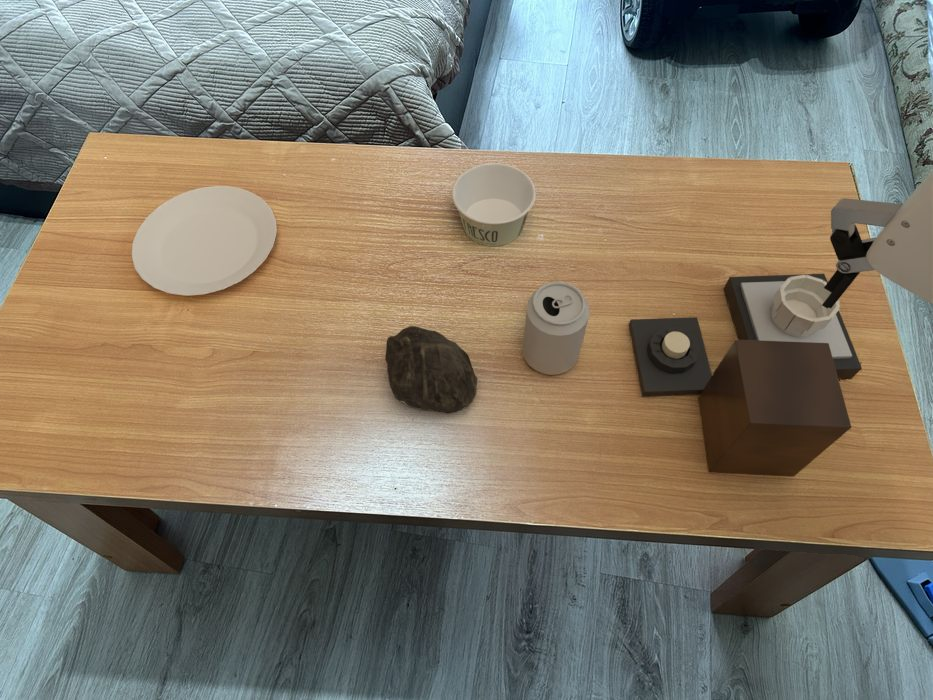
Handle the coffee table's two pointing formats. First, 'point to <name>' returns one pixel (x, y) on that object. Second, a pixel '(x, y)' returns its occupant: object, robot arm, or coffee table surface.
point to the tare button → (675, 345)
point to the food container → (493, 202)
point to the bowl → (802, 306)
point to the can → (554, 327)
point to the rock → (429, 371)
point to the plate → (204, 240)
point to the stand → (771, 408)
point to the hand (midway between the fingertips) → (890, 330)
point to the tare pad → (665, 372)
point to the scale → (755, 322)
